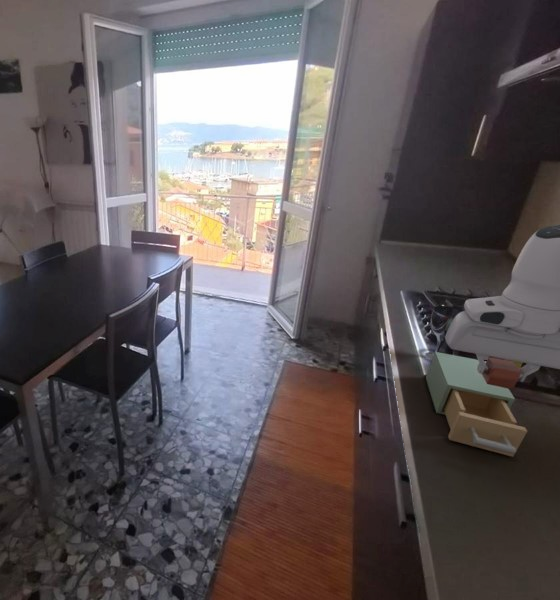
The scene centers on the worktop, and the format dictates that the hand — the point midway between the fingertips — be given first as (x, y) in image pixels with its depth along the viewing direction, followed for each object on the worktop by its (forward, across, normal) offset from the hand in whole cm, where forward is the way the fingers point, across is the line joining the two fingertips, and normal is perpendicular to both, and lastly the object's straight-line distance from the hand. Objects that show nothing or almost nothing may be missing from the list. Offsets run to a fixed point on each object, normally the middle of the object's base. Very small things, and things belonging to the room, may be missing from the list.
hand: (498, 375), depth 71 cm
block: (+1, 0, 0) cm, 1 cm away
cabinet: (+15, 0, -11) cm, 19 cm away
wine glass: (+16, +2, -31) cm, 35 cm away
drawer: (+15, 0, +1) cm, 15 cm away
